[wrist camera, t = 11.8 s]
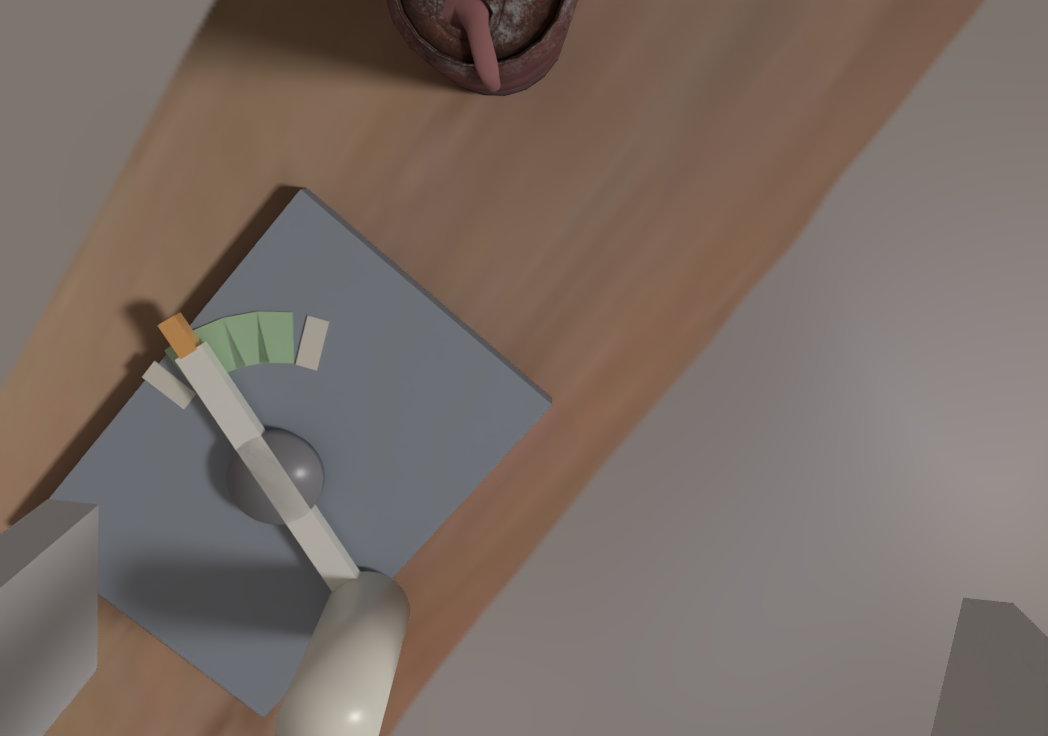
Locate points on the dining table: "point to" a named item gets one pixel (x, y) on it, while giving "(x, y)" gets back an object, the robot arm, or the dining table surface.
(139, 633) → the dining table surface
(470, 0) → the can
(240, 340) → the dial plate
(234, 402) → the needle
